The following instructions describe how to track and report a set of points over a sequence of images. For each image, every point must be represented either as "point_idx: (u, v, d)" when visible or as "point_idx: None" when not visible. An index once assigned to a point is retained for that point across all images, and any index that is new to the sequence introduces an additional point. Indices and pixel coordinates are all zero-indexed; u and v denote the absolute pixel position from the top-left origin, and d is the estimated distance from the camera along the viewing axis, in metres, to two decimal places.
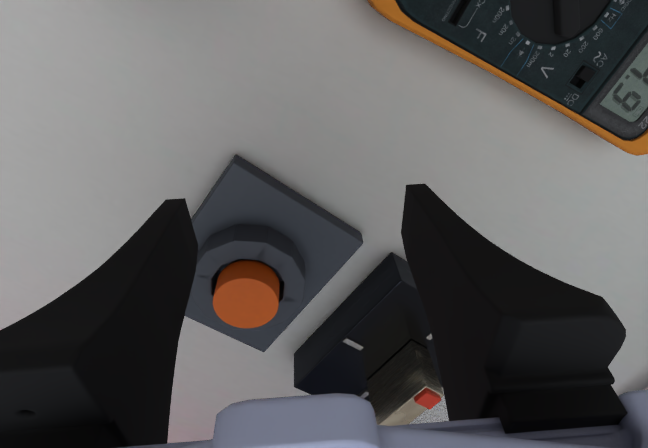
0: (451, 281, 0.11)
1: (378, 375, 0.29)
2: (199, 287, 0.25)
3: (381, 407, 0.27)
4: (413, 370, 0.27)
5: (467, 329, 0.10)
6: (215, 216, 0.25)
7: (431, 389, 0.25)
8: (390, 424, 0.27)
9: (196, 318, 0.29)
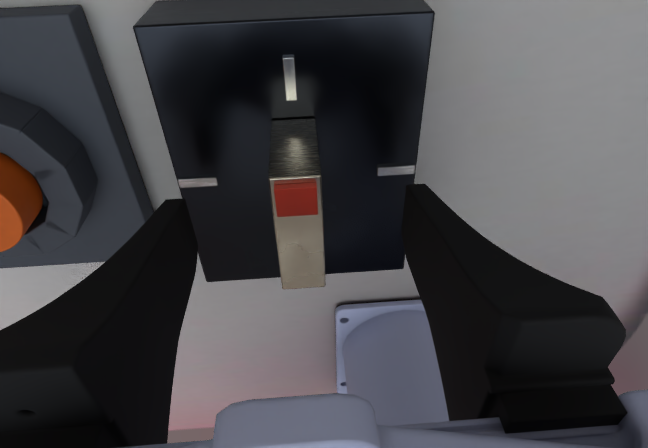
0: (451, 281, 0.11)
1: None
2: None
3: None
4: None
5: (467, 329, 0.10)
6: None
7: (284, 178, 0.12)
8: (295, 271, 0.15)
9: (44, 261, 0.21)
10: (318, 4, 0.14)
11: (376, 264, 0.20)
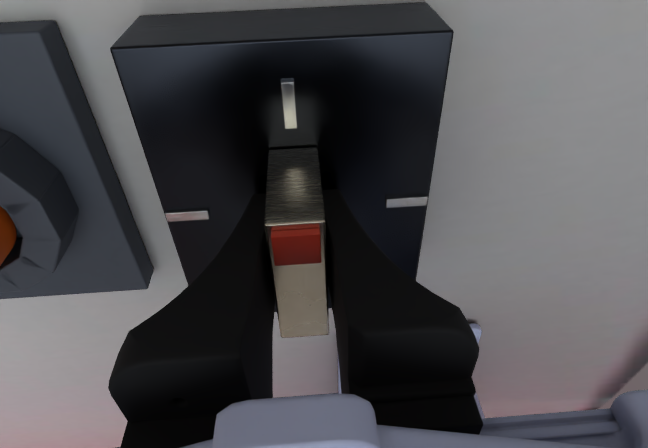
0: (337, 289, 0.11)
1: None
2: None
3: None
4: None
5: (342, 338, 0.10)
6: None
7: (282, 224, 0.11)
8: (295, 319, 0.13)
9: (23, 293, 0.19)
10: (321, 21, 0.13)
11: None
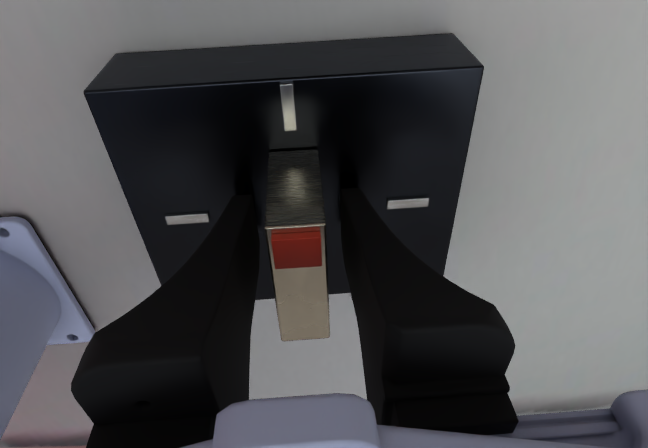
0: (365, 287, 0.11)
1: None
2: None
3: None
4: None
5: (373, 336, 0.10)
6: None
7: (282, 227, 0.11)
8: (296, 323, 0.13)
9: None
10: None
11: None
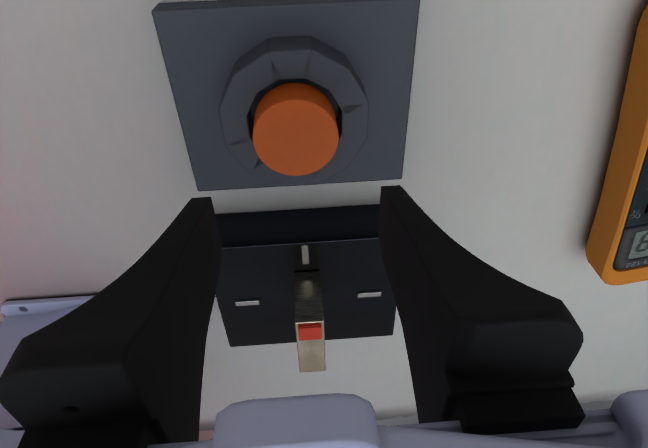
0: (418, 283, 0.11)
1: None
2: (255, 75, 0.18)
3: None
4: None
5: (431, 332, 0.10)
6: (338, 24, 0.19)
7: (303, 322, 0.23)
8: (308, 363, 0.25)
9: (179, 96, 0.20)
10: None
11: (233, 335, 0.29)
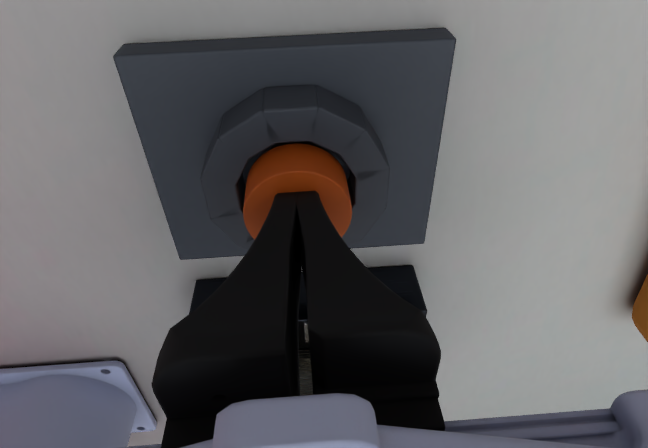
0: None
1: None
2: (246, 138, 0.14)
3: None
4: None
5: None
6: (351, 70, 0.15)
7: None
8: None
9: (153, 156, 0.16)
10: None
11: None
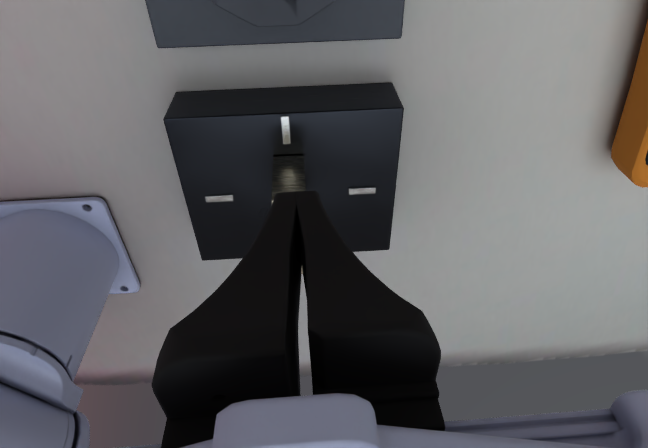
0: None
1: None
2: None
3: None
4: None
5: None
6: None
7: None
8: None
9: None
10: None
11: (205, 244, 0.25)
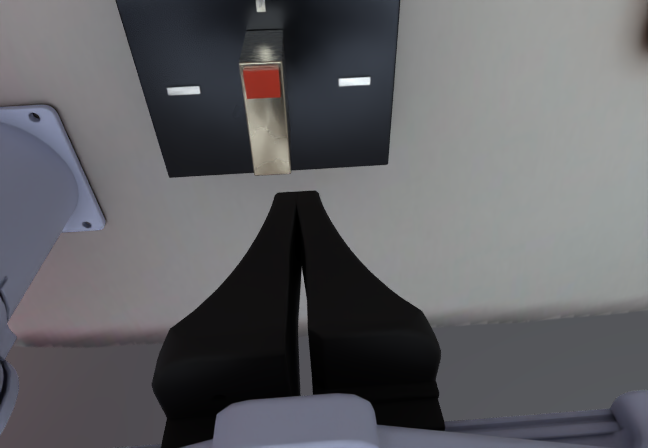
0: None
1: None
2: None
3: None
4: None
5: None
6: None
7: (251, 63, 0.15)
8: (264, 156, 0.17)
9: None
10: None
11: (171, 155, 0.21)
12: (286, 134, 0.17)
